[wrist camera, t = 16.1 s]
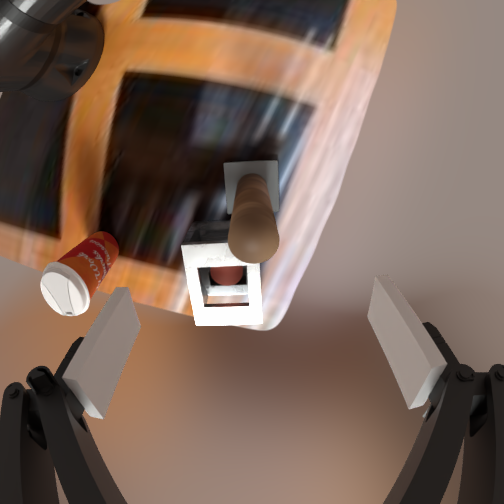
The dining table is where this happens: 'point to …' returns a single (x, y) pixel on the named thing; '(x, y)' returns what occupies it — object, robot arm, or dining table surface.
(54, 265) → the paper cup
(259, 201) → the stylus
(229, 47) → the dining table surface
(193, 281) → the box
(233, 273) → the button
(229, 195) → the mat
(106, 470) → the robot arm
